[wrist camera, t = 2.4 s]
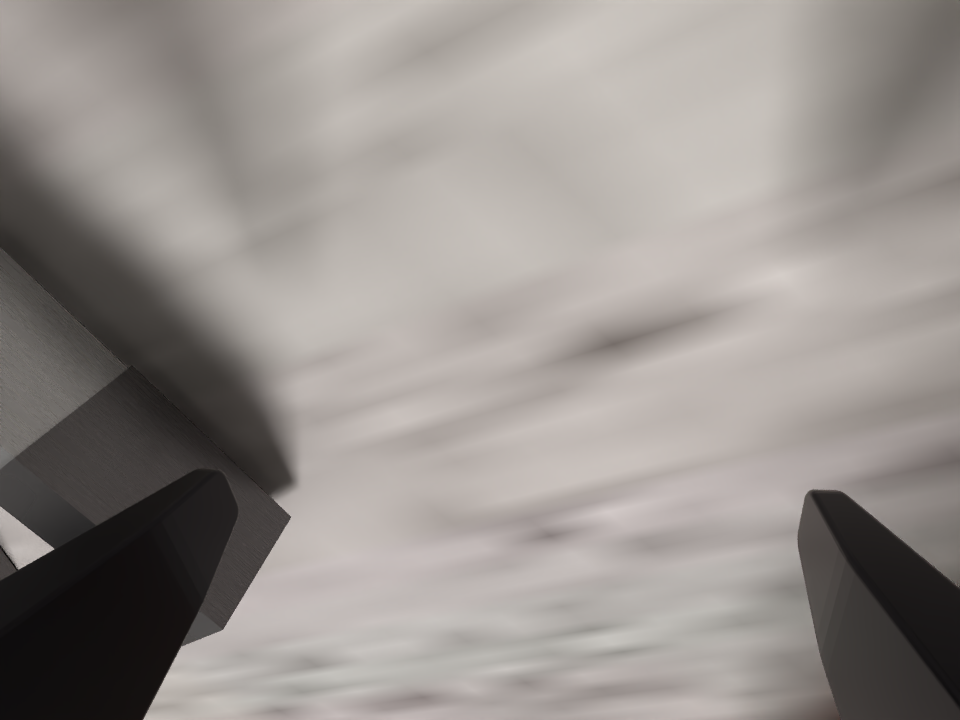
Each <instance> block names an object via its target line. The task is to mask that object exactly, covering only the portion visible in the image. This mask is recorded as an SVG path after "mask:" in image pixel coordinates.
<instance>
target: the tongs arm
mask: <svg viewBox="0 0 960 720" xmlns="http://www.w3.org/2000/svg"><path fill="white" fill-rule="evenodd" d="M201 468H205V469H219V470H221V471H222V472H224V473H225V475H226V477H227V479H228V482H229V484H230V486H231V489H232V491H233V494H234V496H235V498H236V501H237V503H238V508H239V514H238V519H237V522H236V524H235V527H234V529H233V532H232V534H231V537H230V539H229V542H228V544H227V547H226V549H225V552H224V554H223V557H222V559H221V561H220V564H219V566H218V569H217V571H216V574H215V576H214V579H213V581H212V584H211V586H210V589H209V591H208V593H207V596H206V598H205V600H204V603H203V605H202V607H201V609H200V611H199V613H198V615H197V617H196V619H195V621H194V623H193V625H192V626H191V628H190V630H189V632H188V634H187V636H186V638H185V640H184V642H183V644H182V646H184V645H186V644H189V643H191V642H194V641H196V640H199V639H201V638H204V637H206V636H209V635H211V634H214V633H216V632H219V631H221V630H223V629H224V627H225V625H226V624H227V622H228V621H229V619H230V617H231V616H232V614H233V612H234V611H235V609H236V607H237V606H238V604H239V602H240V601H241V599H242V597H243V596H244V594H245V592H246V591H247V589H248V588H249V586H250V584H251V583H252V581H253V579H254V578H255V576H256V574H257V573H258V571H259V569H260V568H261V566H262V564H263V563H264V561H265V559H266V558H267V556H268V555H269V553H270V551H271V550H272V548H273V546H274V545H275V543H276V541H277V540H278V538H279V536H280V535H281V533H282V531H283V530H284V528H285V526H286V525H287V523H288V522H289V520H290V518H291V516H290V515H289V514H288V513H286V512H285V511H284V510H283V509H282V508H281V507H280V506H279V505H278V504H277V503H276V502H275V501H274V500H273V499H272V498H271V497H270V496H269V495H268V494H267V493H265V492H264V491H263V490H262V489H261V488H260V487H259V486H258V485H257V484H256V483H255V482H254V481H253V480H252V479H251V478H250V477H249V476H248V475H247V474H245V473H244V472H243V471H242V470H241V469H240V468H239V467H238V466H237V465H236V464H235V463H234V462H233V461H232V460H231V459H230V458H229V457H228V456H227V455H226V454H224V453H223V452H222V451H221V450H220V449H219V448H218V447H217V446H216V445H215V444H214V443H213V442H212V441H211V440H210V439H209V438H208V437H207V436H206V435H205V434H203V433H202V432H201V431H200V430H199V429H198V428H197V427H196V426H195V425H194V424H193V423H192V422H191V421H190V420H189V419H188V418H187V417H186V416H185V415H183V414H182V413H181V412H180V411H179V410H178V409H177V408H176V407H175V406H174V405H173V404H172V403H171V402H170V401H169V400H168V399H167V398H166V397H165V396H164V395H162V394H161V393H160V392H159V391H158V390H157V389H156V388H155V387H154V386H153V385H152V384H151V383H150V382H149V381H148V380H147V379H146V378H145V377H144V376H143V375H141V374H140V373H139V372H138V371H137V370H136V369H135V368H134V367H133V366H131V367H129V368H127V367H126V366H125V365H124V364H123V363H122V362H121V361H120V360H119V359H118V358H117V357H116V356H115V355H114V354H112V353H111V352H110V351H109V350H108V349H107V348H106V347H105V346H104V345H103V344H102V343H101V342H100V341H99V340H98V339H97V338H96V337H95V336H93V335H92V334H91V333H90V332H89V331H88V330H87V329H86V328H85V327H84V326H83V325H82V324H81V323H80V322H79V321H78V320H77V319H76V318H74V317H73V316H72V315H71V314H70V313H69V312H68V311H67V310H66V309H65V308H64V307H63V306H62V305H61V304H60V303H59V302H58V301H57V300H55V299H54V298H53V297H52V296H51V295H50V294H49V293H48V292H47V291H46V290H45V289H44V288H43V287H42V286H41V285H40V284H39V283H38V282H36V281H35V280H34V279H33V278H32V277H31V276H30V275H29V274H28V273H27V272H26V271H25V270H24V269H23V268H22V267H21V266H20V265H19V264H17V263H16V262H15V261H14V260H13V259H12V258H11V257H10V256H9V255H8V254H7V253H6V252H5V251H4V250H3V249H2V248H1V247H0V506H1V507H2V508H3V509H5V510H6V511H7V512H8V513H10V514H11V515H12V516H14V517H15V518H16V519H17V520H19V521H20V522H21V523H22V524H24V525H25V526H26V527H28V528H29V529H30V530H31V531H33V532H34V533H35V534H37V535H38V536H39V537H40V538H42V539H43V540H44V541H45V542H47V543H48V544H49V545H51V546H52V547H53V548H54V549H56V548H58V547H60V546H61V545H63V544H65V543H67V542H69V541H70V540H72V539H74V538H76V537H77V536H79V535H81V534H83V533H84V532H86V531H88V530H90V529H91V528H93V527H95V526H97V525H98V524H100V523H102V522H104V521H105V520H107V519H109V518H111V517H112V516H114V515H116V514H118V513H120V512H121V511H123V510H125V509H127V508H128V507H130V506H132V505H134V504H135V503H137V502H139V501H141V500H142V499H144V498H146V497H148V496H149V495H151V494H153V493H155V492H156V491H158V490H160V489H162V488H163V487H165V486H167V485H169V484H171V483H172V482H174V481H176V480H178V479H179V478H181V477H183V476H185V475H186V474H188V473H190V472H192V471H193V470H196V469H201Z"/></svg>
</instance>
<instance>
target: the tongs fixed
mask: <svg viewBox="0 0 960 720" xmlns="http://www.w3.org/2000/svg"><path fill="white" fill-rule="evenodd" d="M16 571H17V570H16V569H15V568H14V566H13V565H12V563H11V562H10V561H9V559H8V558H7V556H6V555H5V554H4V552H3V551H2V550H1V548H0V580H2V579H3V578H5V577H7V576H9V575H10V574H12V573H14V572H16Z"/></svg>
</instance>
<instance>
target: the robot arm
mask: <svg viewBox="0 0 960 720" xmlns="http://www.w3.org/2000/svg"><path fill="white" fill-rule="evenodd" d="M238 514H239V508H238V503H237V501H236V498H235V496H234V494H233V491H232V489H231V486H230V484H229V482H228V479H227V477H226V475H225V473H224V472H222V471H221V470H219V469H205V468H201V469H196V470H193V471H192V472H190V473H188V474H186V475H185V476H183V477H181V478H179V479H178V480H176V481H174V482H172V483H171V484H169V485H167V486H165V487H163V488H162V489H160V490H158V491H156V492H155V493H153V494H151V495H149V496H148V497H146V498H144V499H142V500H141V501H139V502H137V503H135V504H134V505H132V506H130V507H128V508H127V509H125V510H123V511H121V512H120V513H118V514H116V515H114V516H112V517H111V518H109V519H107V520H105V521H104V522H102V523H100V524H98V525H97V526H95V527H93V528H91V529H90V530H88V531H86V532H84V533H83V534H81V535H79V536H77V537H76V538H74V539H72V540H70V541H69V542H67V543H65V544H63V545H61V546H60V547H58V548H56V549H54V550H53V551H51V552H49V553H47V554H46V555H44V556H42V557H40V558H39V559H37V560H35V561H33V562H32V563H30V564H28V565H26V566H25V567H23V568H21V569H19V570H18V571H16V572H14V573H12V574H10V575H9V576H7V577H5V578H3V579H2V580H0V720H143V719H144V717H145V715H146V713H147V711H148V709H149V707H150V705H151V704H152V702H153V700H154V698H155V696H156V694H157V692H158V690H159V688H160V686H161V684H162V682H163V680H164V678H165V677H166V675H167V673H168V671H169V669H170V667H171V665H172V663H173V661H174V659H175V657H176V655H177V653H178V651H179V650H180V648H181V646H182V644H183V642H184V640H185V638H186V636H187V634H188V632H189V630H190V628H191V626H192V625H193V623H194V621H195V619H196V617H197V615H198V613H199V611H200V609H201V607H202V605H203V603H204V600H205V598H206V596H207V593H208V591H209V589H210V586H211V584H212V581H213V579H214V576H215V574H216V571H217V569H218V566H219V564H220V561H221V559H222V557H223V554H224V552H225V549H226V547H227V544H228V542H229V539H230V537H231V534H232V532H233V529H234V527H235V524H236V522H237V519H238ZM798 549H799V555H800V560H801V564H802V569H803V574H804V579H805V584H806V589H807V594H808V599H809V604H810V609H811V613H812V618H813V623H814V628H815V633H816V638H817V642H818V647H819V651H820V656H821V659H822V663H823V666H824V669H825V673H826V676H827V679H828V682H829V685H830V688H831V691H832V694H833V697H834V700H835V703H836V706H837V709H838V712H839V715H840V718H841V720H960V588H959V587H958V586H956V585H955V584H954V583H953V582H952V581H950V580H949V579H948V578H947V577H945V576H944V575H943V574H942V573H941V572H939V571H938V570H937V569H936V568H935V567H933V566H932V565H931V564H930V563H929V562H927V561H926V560H925V559H924V558H923V557H921V556H920V555H919V554H918V553H917V552H915V551H914V550H913V549H912V548H910V547H909V546H908V545H907V544H906V543H904V542H903V541H902V540H901V539H900V538H898V537H897V536H896V535H895V534H894V533H892V532H891V531H890V530H889V529H888V528H886V527H885V526H884V525H883V524H881V523H880V522H879V521H878V520H877V519H875V518H874V517H873V516H872V515H871V514H869V513H868V512H867V511H866V510H865V509H863V508H862V507H861V506H860V505H859V504H857V503H856V502H855V501H854V500H852V499H851V498H850V497H849V496H848V495H846V494H845V493H843V492H841V491H837V490H810V491H809V492H808V493H807V494H806V496H805V500H804V505H803V509H802V514H801V519H800V524H799V529H798Z"/></svg>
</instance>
